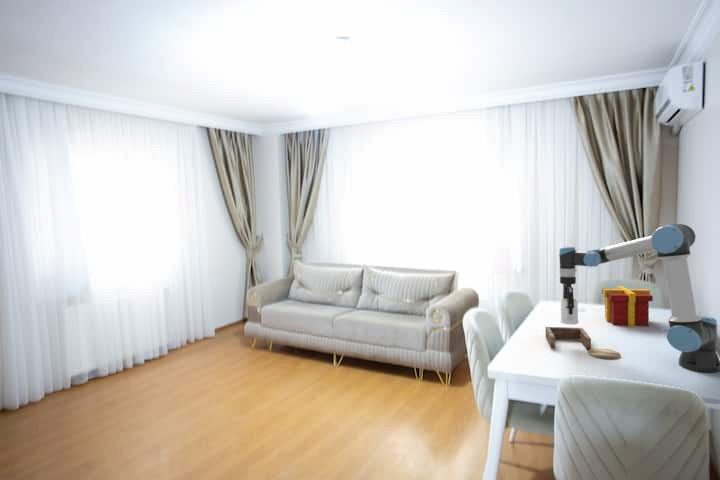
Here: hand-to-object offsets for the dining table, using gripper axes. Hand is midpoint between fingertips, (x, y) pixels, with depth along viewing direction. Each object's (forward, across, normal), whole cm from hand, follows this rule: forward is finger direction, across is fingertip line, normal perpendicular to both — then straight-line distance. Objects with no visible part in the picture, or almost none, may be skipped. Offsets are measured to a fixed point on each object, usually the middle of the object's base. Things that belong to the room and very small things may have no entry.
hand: (568, 317), depth 234 cm
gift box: (+15, +54, -42) cm, 70 cm away
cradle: (+15, +4, 0) cm, 15 cm away
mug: (+3, 0, 0) cm, 3 cm away
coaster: (+15, -13, -14) cm, 24 cm away
